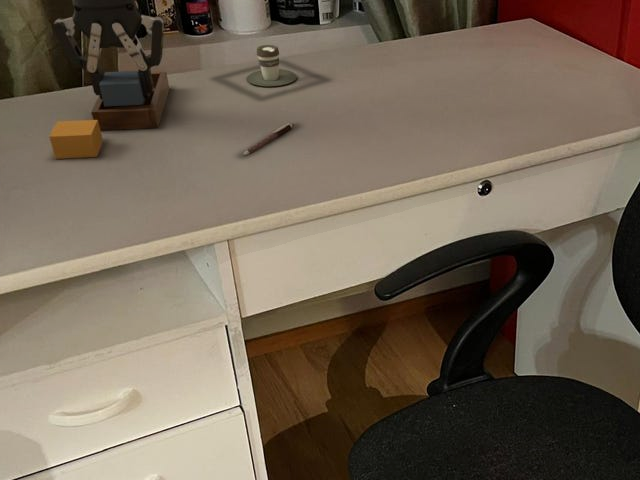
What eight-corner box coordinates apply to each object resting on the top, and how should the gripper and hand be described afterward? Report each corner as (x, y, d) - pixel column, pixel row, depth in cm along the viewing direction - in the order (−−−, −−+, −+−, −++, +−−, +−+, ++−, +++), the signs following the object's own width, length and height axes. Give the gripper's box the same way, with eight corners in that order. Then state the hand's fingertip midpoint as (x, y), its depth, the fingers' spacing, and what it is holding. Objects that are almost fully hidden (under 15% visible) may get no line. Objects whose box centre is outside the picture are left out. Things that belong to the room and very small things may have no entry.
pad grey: (104, 106, 116) (99, 84, 115) (110, 93, 120) (105, 71, 118) (143, 104, 117) (138, 83, 115) (147, 91, 121) (143, 70, 119)
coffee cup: (280, 61, 141) (276, 30, 138) (325, 80, 134) (323, 48, 131) (216, 78, 134) (210, 45, 131) (260, 99, 127) (256, 65, 124)
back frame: (95, 130, 117) (91, 112, 115) (113, 90, 129) (109, 73, 127) (158, 127, 118) (154, 109, 116) (169, 88, 130) (166, 71, 128)
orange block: (55, 159, 109) (48, 136, 107) (63, 143, 113) (57, 121, 111) (97, 157, 110) (91, 134, 108) (103, 141, 114) (97, 119, 112)
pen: (291, 127, 120) (290, 120, 119) (295, 128, 120) (294, 121, 119) (240, 157, 112) (239, 150, 111) (245, 158, 111) (244, 151, 111)
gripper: (158, -44, 112) (182, 85, 123) (41, -43, 110) (75, 89, 120) (151, -30, 106) (177, 104, 117) (28, -29, 104) (65, 108, 114)
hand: (125, 96), depth 118 cm, fingers closed on pad grey, 5 cm apart
